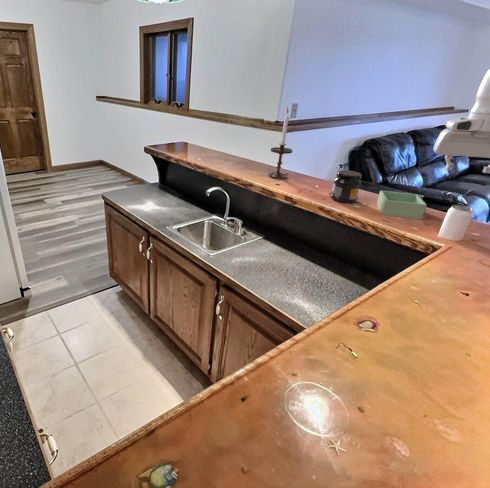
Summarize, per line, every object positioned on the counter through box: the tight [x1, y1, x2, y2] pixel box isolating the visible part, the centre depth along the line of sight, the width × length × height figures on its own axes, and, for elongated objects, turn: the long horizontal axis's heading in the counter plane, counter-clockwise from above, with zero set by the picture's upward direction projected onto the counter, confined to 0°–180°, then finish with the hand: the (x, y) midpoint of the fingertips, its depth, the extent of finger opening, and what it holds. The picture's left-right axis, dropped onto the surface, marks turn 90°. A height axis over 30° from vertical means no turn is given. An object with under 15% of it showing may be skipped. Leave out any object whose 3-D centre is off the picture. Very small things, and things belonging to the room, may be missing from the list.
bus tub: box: [375, 190, 428, 220], centre depth 141 cm, size 14×14×6 cm
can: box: [437, 204, 474, 242], centre depth 115 cm, size 6×6×12 cm
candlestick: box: [268, 106, 293, 179], centre depth 179 cm, size 11×11×35 cm
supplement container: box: [330, 169, 362, 204], centre depth 152 cm, size 10×10×12 cm
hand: (467, 171), depth 106 cm, fingers open, 8 cm apart
